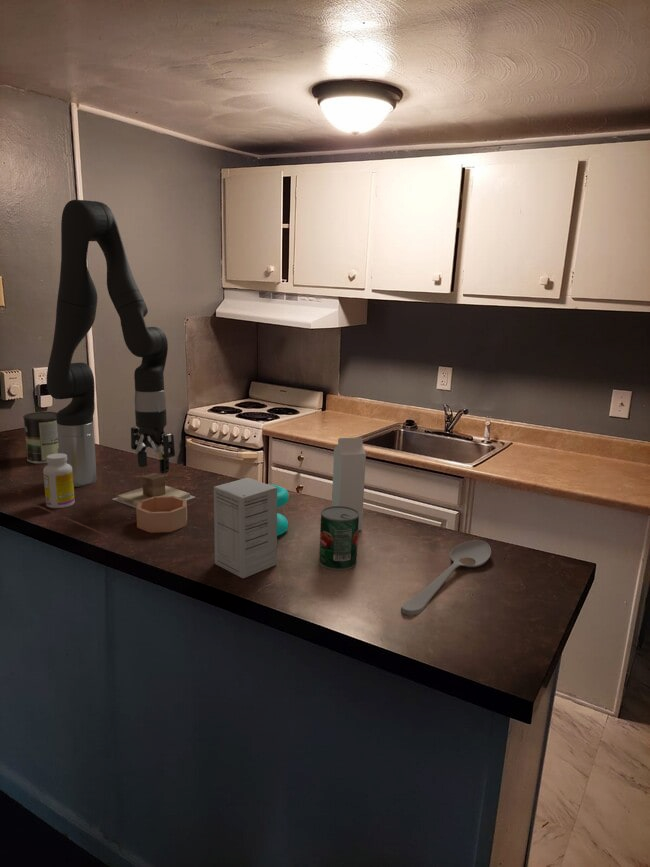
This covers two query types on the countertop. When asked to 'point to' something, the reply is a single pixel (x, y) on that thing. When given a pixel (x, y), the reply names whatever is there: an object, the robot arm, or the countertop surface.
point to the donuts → (281, 500)
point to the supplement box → (245, 526)
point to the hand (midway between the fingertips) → (153, 469)
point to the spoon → (449, 573)
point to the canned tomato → (338, 537)
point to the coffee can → (41, 436)
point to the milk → (349, 475)
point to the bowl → (161, 514)
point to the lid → (152, 490)
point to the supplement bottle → (58, 482)
